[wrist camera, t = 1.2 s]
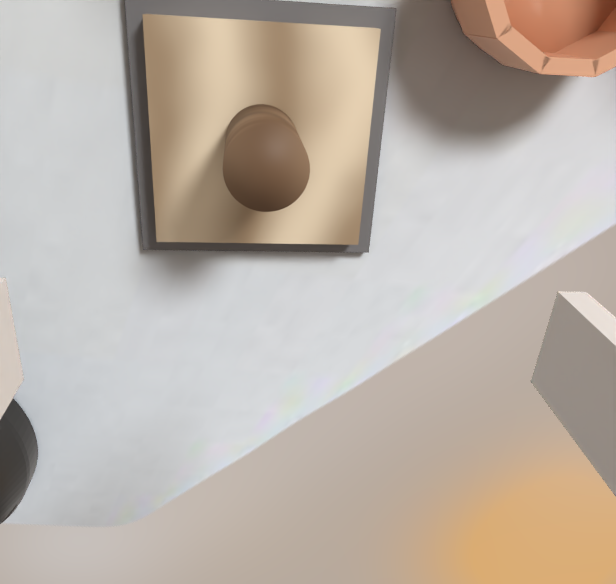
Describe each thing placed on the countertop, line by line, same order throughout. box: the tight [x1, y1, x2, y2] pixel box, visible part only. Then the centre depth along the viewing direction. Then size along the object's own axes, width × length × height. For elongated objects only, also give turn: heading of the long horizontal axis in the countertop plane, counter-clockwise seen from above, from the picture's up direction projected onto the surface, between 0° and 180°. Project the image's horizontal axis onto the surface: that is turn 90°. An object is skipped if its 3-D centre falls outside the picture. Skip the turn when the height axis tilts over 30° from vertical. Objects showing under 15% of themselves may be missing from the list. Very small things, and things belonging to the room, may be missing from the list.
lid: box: [142, 14, 381, 245], centre depth 30 cm, size 12×12×7 cm
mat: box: [125, 0, 396, 252], centre depth 33 cm, size 14×14×1 cm
